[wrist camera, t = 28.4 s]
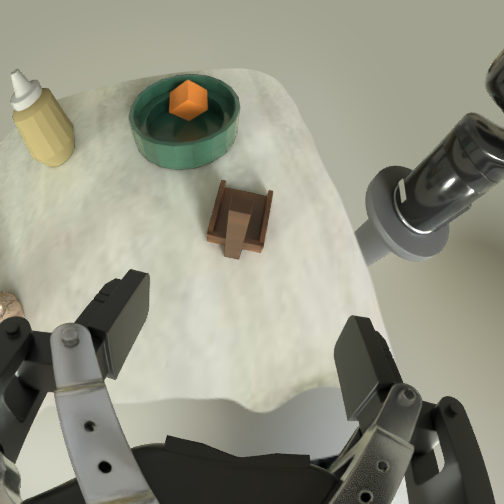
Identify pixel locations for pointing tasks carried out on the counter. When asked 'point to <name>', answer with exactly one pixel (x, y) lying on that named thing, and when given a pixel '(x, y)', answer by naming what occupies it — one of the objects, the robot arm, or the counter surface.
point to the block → (188, 100)
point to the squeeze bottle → (41, 121)
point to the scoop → (239, 220)
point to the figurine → (9, 306)
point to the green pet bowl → (184, 124)
